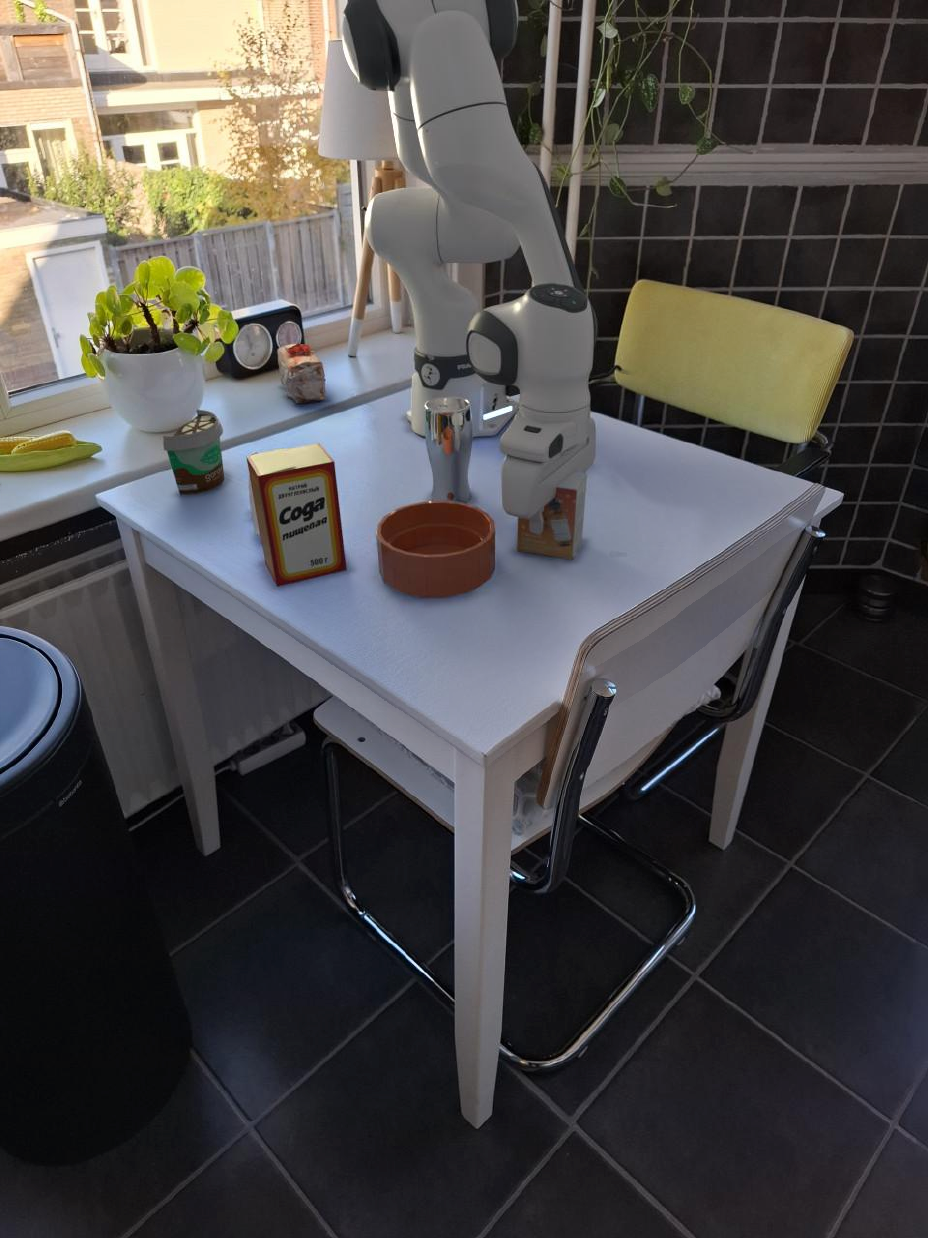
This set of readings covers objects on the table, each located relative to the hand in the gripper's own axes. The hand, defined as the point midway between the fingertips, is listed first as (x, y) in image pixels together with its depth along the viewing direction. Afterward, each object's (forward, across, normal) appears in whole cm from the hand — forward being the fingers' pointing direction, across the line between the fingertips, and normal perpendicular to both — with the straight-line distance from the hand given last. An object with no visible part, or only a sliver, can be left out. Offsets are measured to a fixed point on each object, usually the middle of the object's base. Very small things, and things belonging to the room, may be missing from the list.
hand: (550, 520), depth 118 cm
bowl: (+4, +13, -10) cm, 17 cm away
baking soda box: (+4, +21, -26) cm, 34 cm away
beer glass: (+4, -6, -20) cm, 21 cm away
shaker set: (+4, +15, -38) cm, 41 cm away
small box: (+4, 0, 0) cm, 4 cm away
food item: (+4, -31, -71) cm, 78 cm away
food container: (+4, +8, -57) cm, 58 cm away
